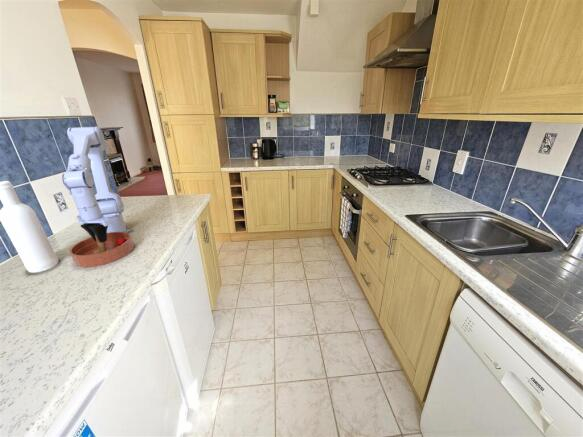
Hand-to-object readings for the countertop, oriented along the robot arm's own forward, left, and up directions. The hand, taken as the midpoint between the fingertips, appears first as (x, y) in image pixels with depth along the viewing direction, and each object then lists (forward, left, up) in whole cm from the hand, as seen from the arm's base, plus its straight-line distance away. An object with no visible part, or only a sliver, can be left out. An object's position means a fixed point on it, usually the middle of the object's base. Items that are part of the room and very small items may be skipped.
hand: (101, 240), depth 88 cm
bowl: (0, 0, -6) cm, 6 cm away
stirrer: (0, -1, -5) cm, 5 cm away
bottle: (-13, -13, -6) cm, 19 cm away
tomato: (0, +6, -4) cm, 7 cm away
